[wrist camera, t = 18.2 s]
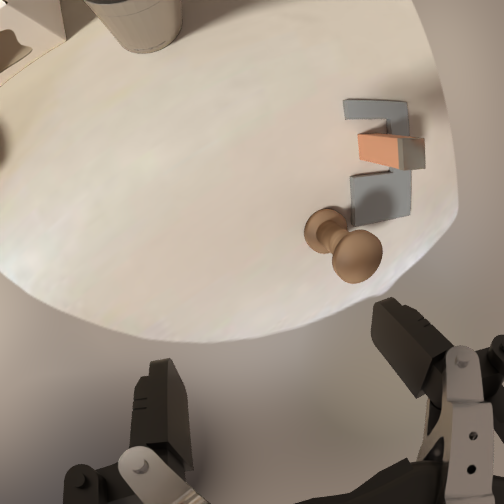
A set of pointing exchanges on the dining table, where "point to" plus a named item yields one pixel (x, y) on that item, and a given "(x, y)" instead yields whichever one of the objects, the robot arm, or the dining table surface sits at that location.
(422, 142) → the orange tall block
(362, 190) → the notched board
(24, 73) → the dining table surface
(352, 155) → the dining table surface
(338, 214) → the bobbin
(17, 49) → the gable box
